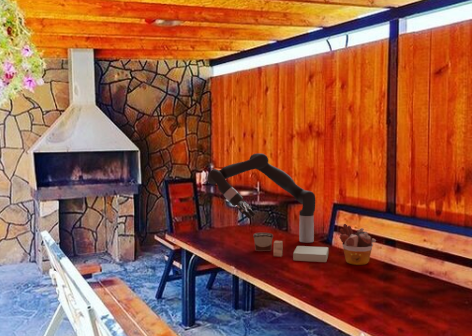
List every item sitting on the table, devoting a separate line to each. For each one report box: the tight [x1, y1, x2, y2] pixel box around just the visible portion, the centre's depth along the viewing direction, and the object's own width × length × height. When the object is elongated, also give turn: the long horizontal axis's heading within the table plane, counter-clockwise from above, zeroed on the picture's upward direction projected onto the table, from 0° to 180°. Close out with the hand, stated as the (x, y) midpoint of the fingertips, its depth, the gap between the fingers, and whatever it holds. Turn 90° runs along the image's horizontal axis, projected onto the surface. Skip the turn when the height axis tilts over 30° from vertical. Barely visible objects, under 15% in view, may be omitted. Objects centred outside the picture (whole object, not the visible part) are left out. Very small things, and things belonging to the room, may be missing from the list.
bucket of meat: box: [339, 223, 377, 266], centre depth 259 cm, size 20×16×20 cm
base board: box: [292, 245, 329, 263], centre depth 272 cm, size 18×18×4 cm
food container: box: [252, 232, 274, 252], centre depth 291 cm, size 12×6×10 cm, turn 84°
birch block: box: [273, 240, 284, 258], centre depth 276 cm, size 4×4×8 cm
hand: (252, 216), depth 279 cm, fingers open, 8 cm apart
